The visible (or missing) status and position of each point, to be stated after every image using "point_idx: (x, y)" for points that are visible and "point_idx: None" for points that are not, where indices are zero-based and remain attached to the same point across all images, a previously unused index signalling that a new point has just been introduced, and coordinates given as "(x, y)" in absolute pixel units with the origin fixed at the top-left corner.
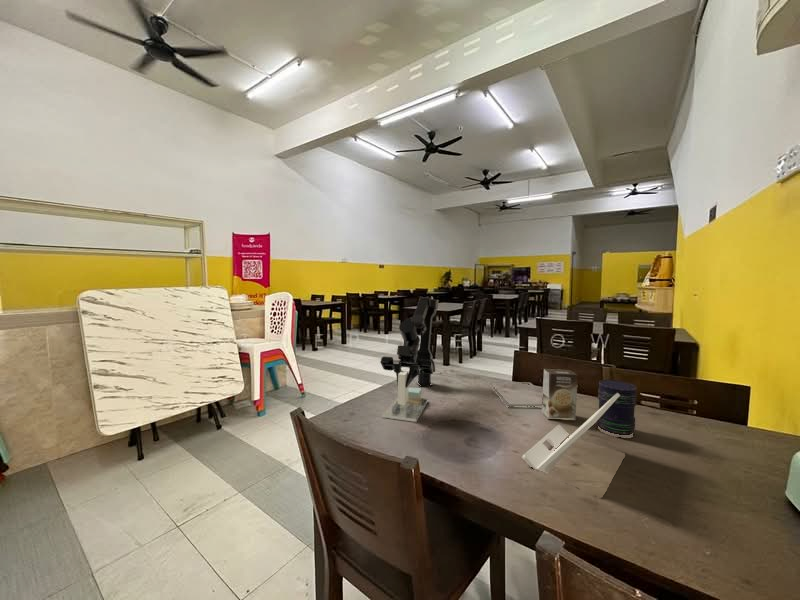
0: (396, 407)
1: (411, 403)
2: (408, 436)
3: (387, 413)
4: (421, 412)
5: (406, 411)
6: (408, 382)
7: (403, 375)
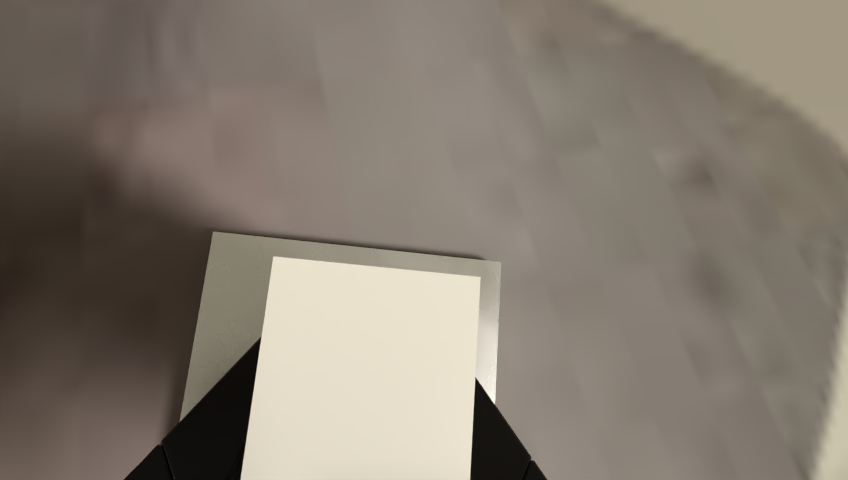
0: None
1: None
2: (254, 26)
3: None
4: None
5: None
6: (237, 372)
7: (322, 265)
